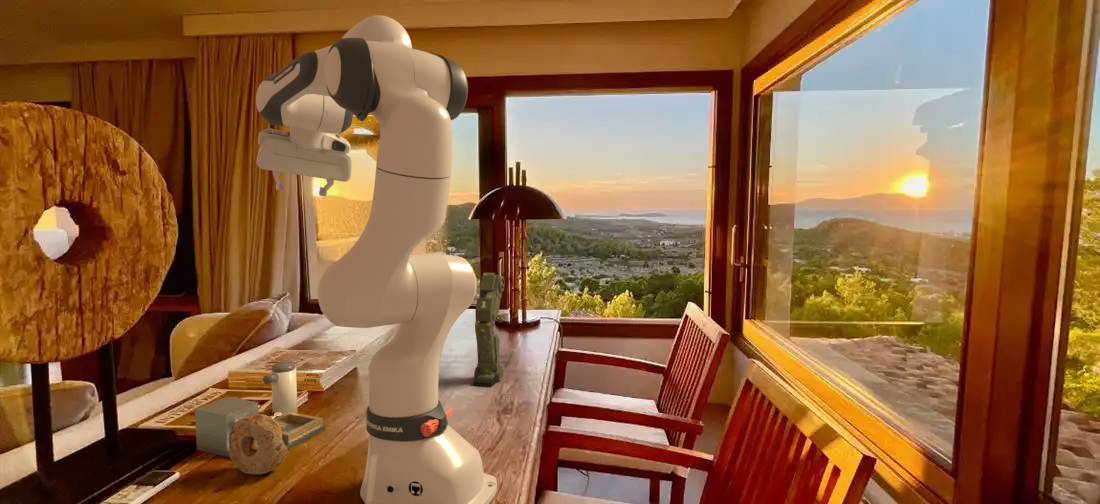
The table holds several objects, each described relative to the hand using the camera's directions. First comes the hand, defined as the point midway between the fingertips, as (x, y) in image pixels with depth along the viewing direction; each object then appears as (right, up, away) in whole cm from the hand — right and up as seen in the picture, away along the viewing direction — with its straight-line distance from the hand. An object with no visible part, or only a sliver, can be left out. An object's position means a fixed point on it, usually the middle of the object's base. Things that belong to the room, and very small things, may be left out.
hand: (301, 192), depth 128 cm
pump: (-1, -50, -8) cm, 51 cm away
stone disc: (+8, -53, -33) cm, 63 cm away
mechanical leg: (+43, -49, +18) cm, 67 cm away
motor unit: (+2, -52, -21) cm, 56 cm away
